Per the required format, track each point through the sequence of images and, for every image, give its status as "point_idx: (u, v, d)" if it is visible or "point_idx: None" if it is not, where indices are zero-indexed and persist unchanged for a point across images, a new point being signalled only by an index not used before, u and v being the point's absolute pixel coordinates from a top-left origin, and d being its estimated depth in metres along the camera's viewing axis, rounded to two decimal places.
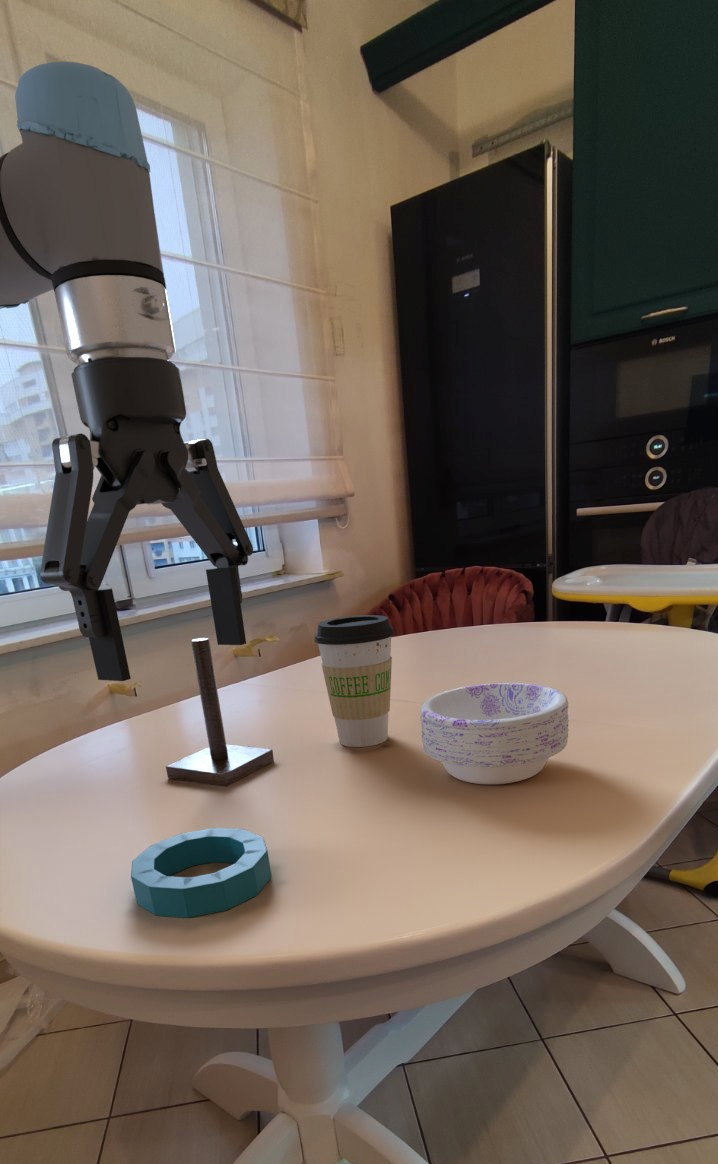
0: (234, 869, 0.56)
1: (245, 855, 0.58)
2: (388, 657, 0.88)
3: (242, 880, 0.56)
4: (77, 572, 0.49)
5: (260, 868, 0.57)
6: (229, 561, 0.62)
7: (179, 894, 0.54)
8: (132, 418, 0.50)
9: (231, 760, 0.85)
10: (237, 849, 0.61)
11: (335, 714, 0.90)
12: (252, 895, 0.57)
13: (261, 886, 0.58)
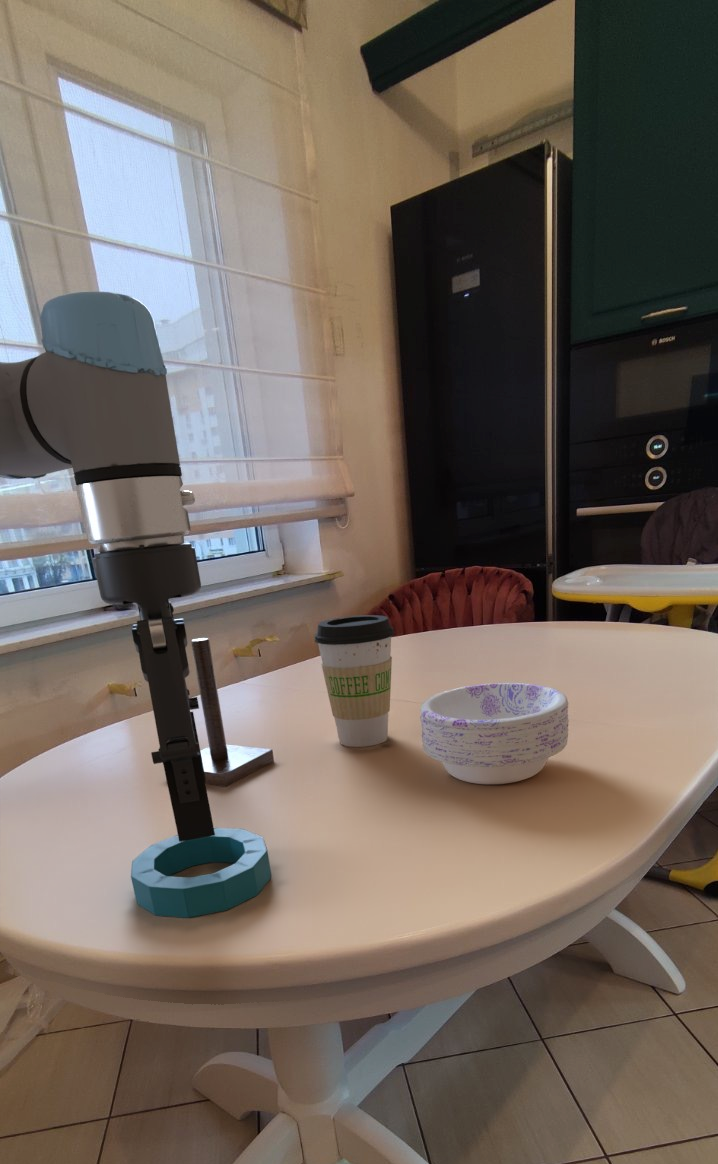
0: (234, 869, 0.56)
1: (245, 855, 0.58)
2: (388, 657, 0.88)
3: (242, 880, 0.56)
4: None
5: (260, 868, 0.57)
6: None
7: (179, 894, 0.54)
8: (182, 596, 0.54)
9: (231, 760, 0.85)
10: (237, 849, 0.61)
11: (335, 714, 0.90)
12: (252, 895, 0.57)
13: (261, 886, 0.58)
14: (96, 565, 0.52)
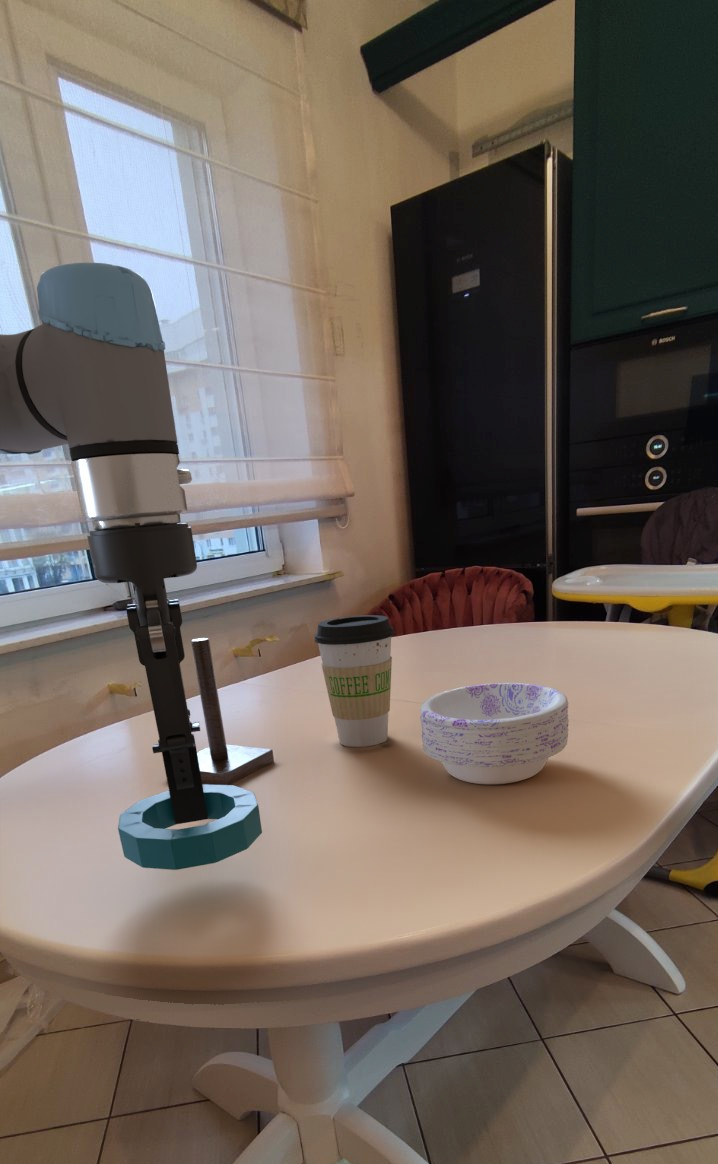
0: (223, 822, 0.55)
1: (235, 809, 0.57)
2: (388, 657, 0.88)
3: (231, 832, 0.54)
4: None
5: (250, 821, 0.56)
6: None
7: (167, 845, 0.53)
8: (177, 576, 0.53)
9: (231, 760, 0.85)
10: (227, 805, 0.60)
11: (335, 714, 0.90)
12: (242, 849, 0.55)
13: (251, 840, 0.56)
14: (91, 543, 0.52)
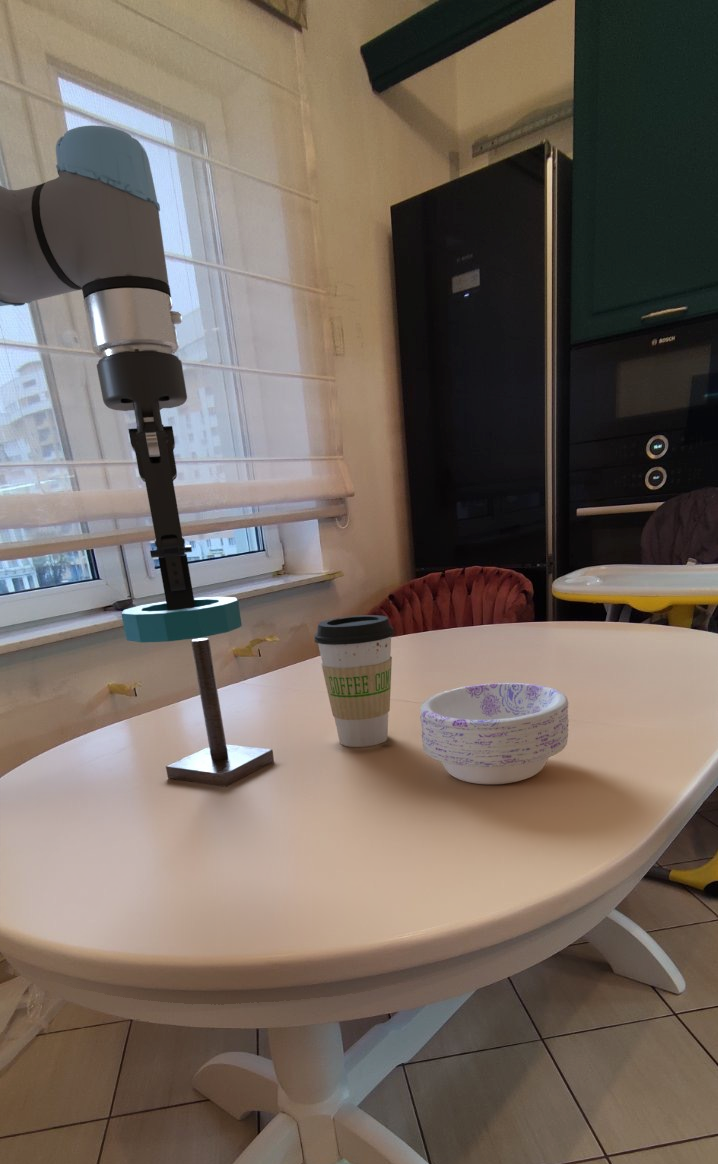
0: (208, 606, 0.66)
1: (218, 602, 0.68)
2: (388, 657, 0.88)
3: (214, 613, 0.66)
4: None
5: (231, 610, 0.67)
6: None
7: (160, 619, 0.64)
8: (170, 400, 0.65)
9: (231, 760, 0.85)
10: None
11: (335, 714, 0.90)
12: (223, 630, 0.67)
13: (231, 627, 0.68)
14: (99, 369, 0.64)
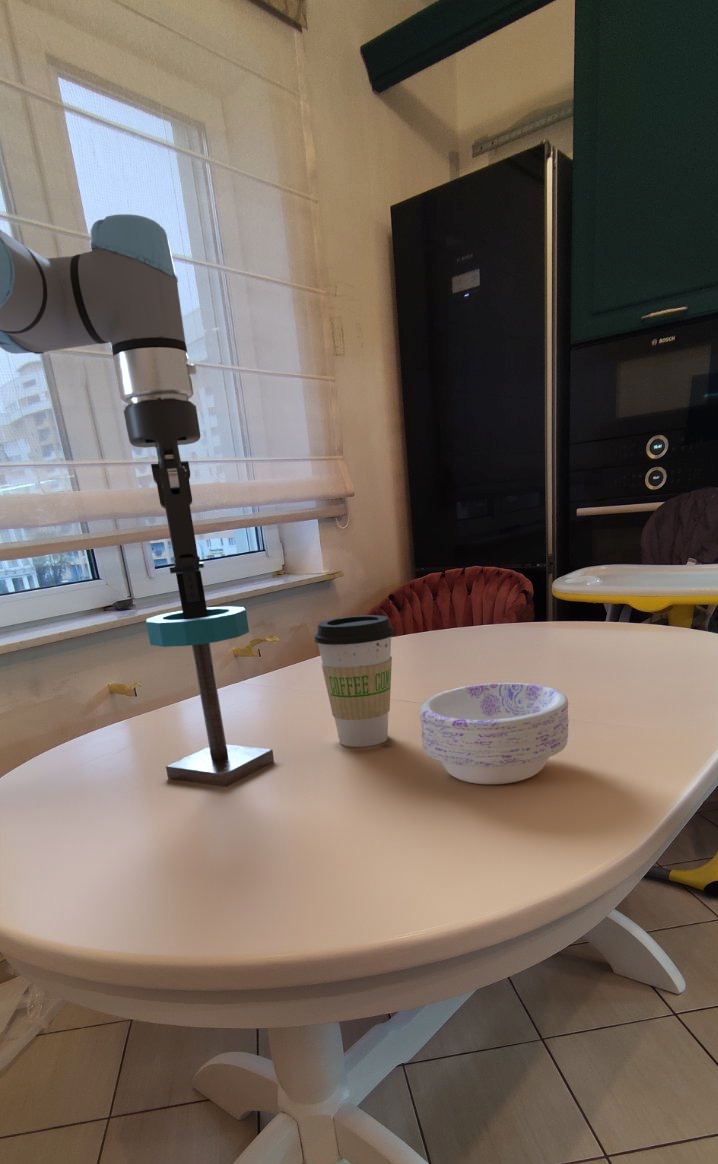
0: (220, 615, 0.77)
1: (229, 611, 0.79)
2: (388, 657, 0.88)
3: (226, 621, 0.77)
4: None
5: (240, 618, 0.79)
6: None
7: (181, 626, 0.75)
8: (187, 439, 0.76)
9: (231, 760, 0.85)
10: None
11: (335, 714, 0.90)
12: (234, 636, 0.78)
13: (241, 632, 0.79)
14: (126, 414, 0.75)
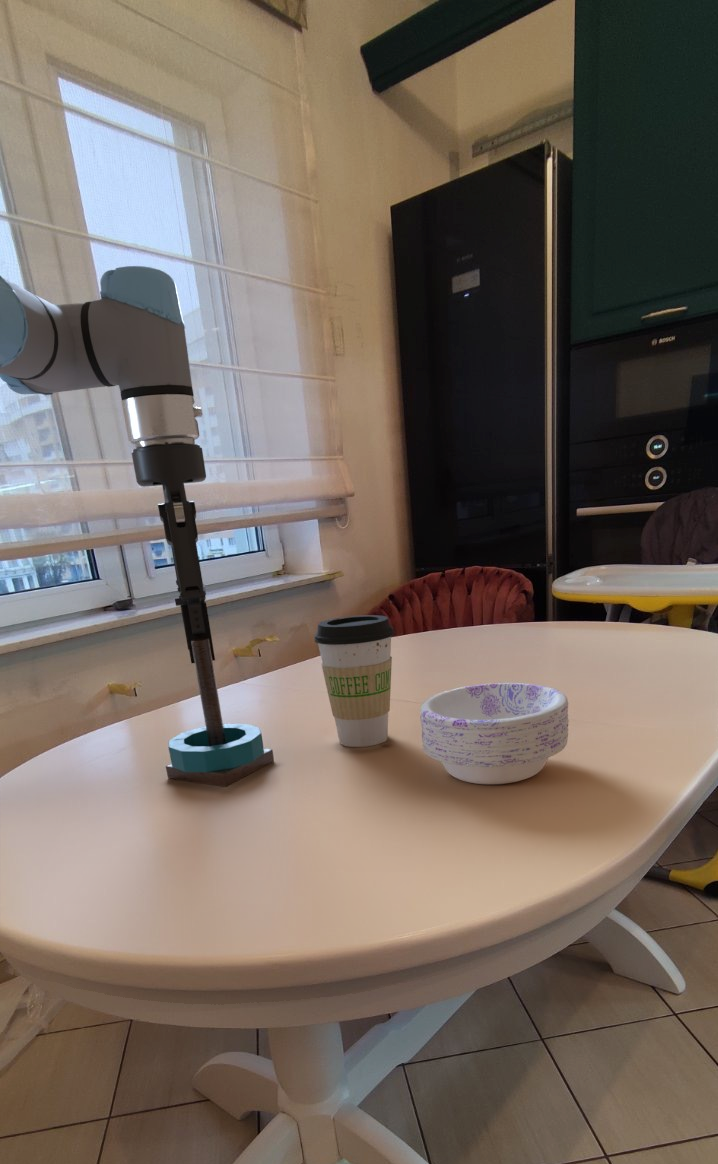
0: (238, 742, 0.83)
1: (246, 735, 0.85)
2: (388, 657, 0.88)
3: (243, 748, 0.82)
4: None
5: (256, 743, 0.84)
6: None
7: (201, 755, 0.81)
8: (193, 481, 0.78)
9: None
10: (241, 736, 0.88)
11: (335, 714, 0.90)
12: (250, 760, 0.83)
13: (256, 756, 0.84)
14: (134, 457, 0.77)
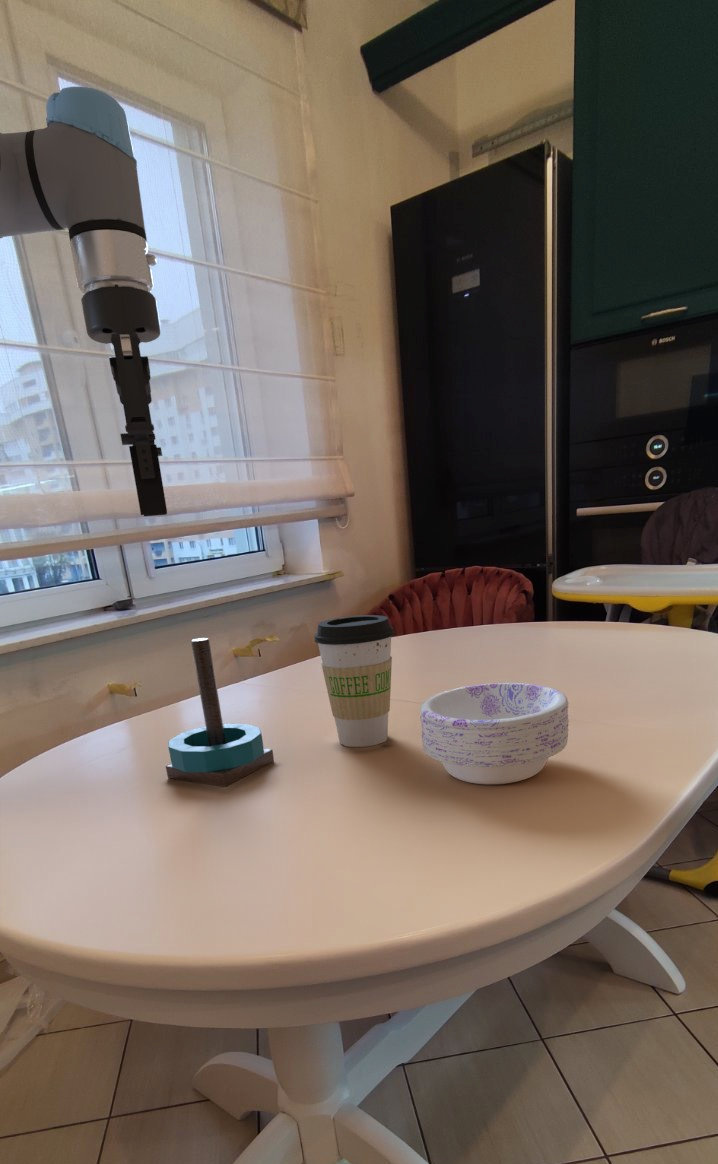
0: (238, 742, 0.83)
1: (246, 735, 0.85)
2: (388, 657, 0.88)
3: (243, 748, 0.82)
4: None
5: (256, 743, 0.84)
6: None
7: (201, 755, 0.81)
8: (146, 331, 0.74)
9: None
10: (241, 736, 0.88)
11: (335, 714, 0.90)
12: (250, 760, 0.83)
13: (256, 756, 0.84)
14: (83, 302, 0.73)
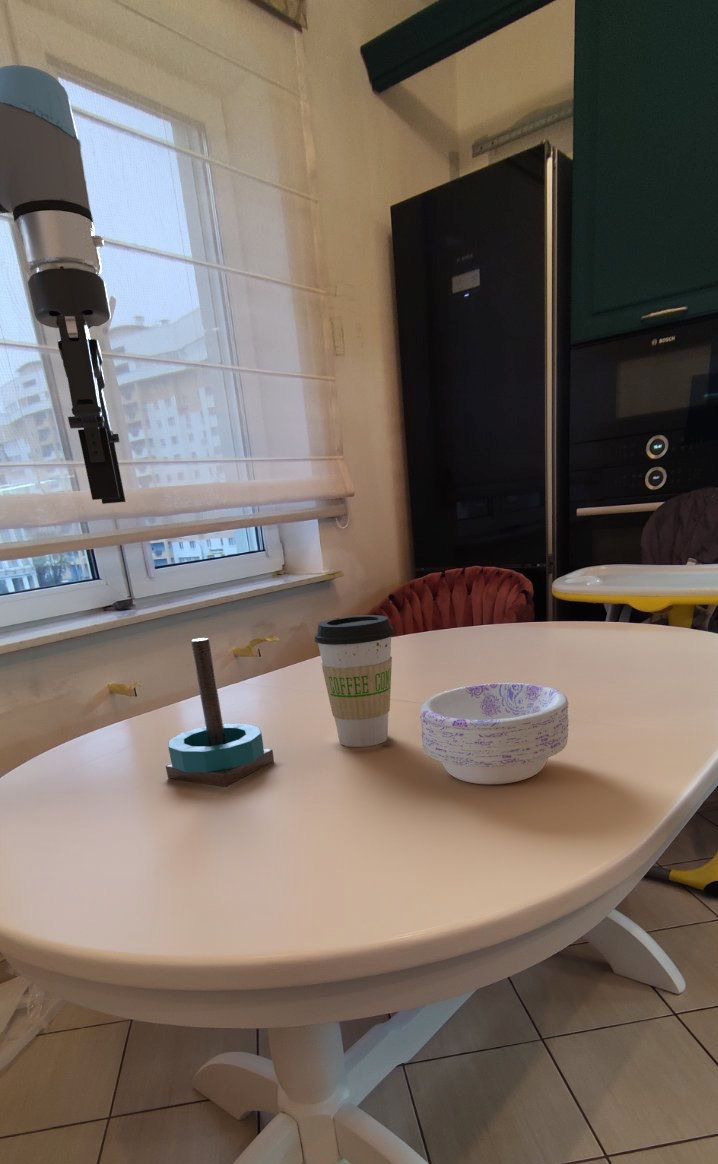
0: (238, 742, 0.83)
1: (246, 735, 0.85)
2: (388, 657, 0.88)
3: (243, 748, 0.82)
4: None
5: (256, 743, 0.84)
6: (109, 438, 0.86)
7: (201, 755, 0.81)
8: (94, 314, 0.74)
9: None
10: (241, 736, 0.88)
11: (335, 714, 0.90)
12: (250, 760, 0.83)
13: (256, 756, 0.84)
14: (30, 285, 0.72)
